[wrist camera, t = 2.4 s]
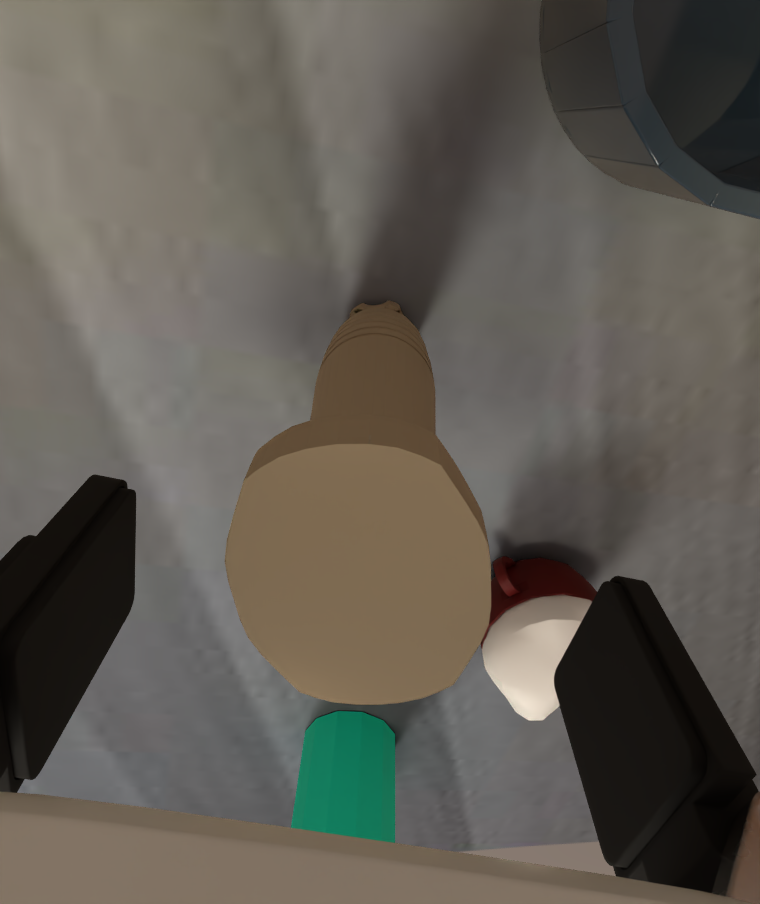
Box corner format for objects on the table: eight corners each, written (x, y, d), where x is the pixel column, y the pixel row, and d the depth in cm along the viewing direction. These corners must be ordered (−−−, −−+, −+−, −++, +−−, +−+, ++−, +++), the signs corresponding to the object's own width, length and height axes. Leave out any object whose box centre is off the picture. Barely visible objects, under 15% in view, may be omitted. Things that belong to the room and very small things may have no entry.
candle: (415, 742, 37) (423, 981, 27) (350, 777, 39) (334, 1012, 29) (349, 697, 35) (330, 938, 25) (285, 737, 37) (242, 975, 27)
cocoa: (462, 530, 29) (501, 763, 18) (590, 512, 28) (707, 743, 17) (482, 659, 33) (522, 903, 23) (592, 646, 32) (686, 892, 22)
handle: (433, 249, 22) (490, 432, 9) (441, 401, 25) (491, 699, 12) (309, 262, 22) (189, 455, 9) (333, 410, 25) (268, 709, 12)
